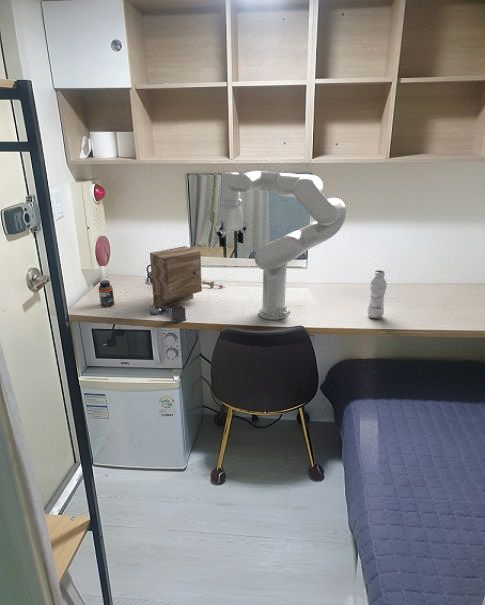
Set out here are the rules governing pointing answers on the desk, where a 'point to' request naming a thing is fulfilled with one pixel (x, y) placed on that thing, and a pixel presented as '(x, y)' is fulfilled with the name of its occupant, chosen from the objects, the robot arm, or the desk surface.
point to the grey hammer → (175, 313)
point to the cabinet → (175, 275)
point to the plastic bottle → (377, 295)
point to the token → (155, 310)
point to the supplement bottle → (106, 294)
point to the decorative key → (212, 284)
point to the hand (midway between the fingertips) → (231, 244)
